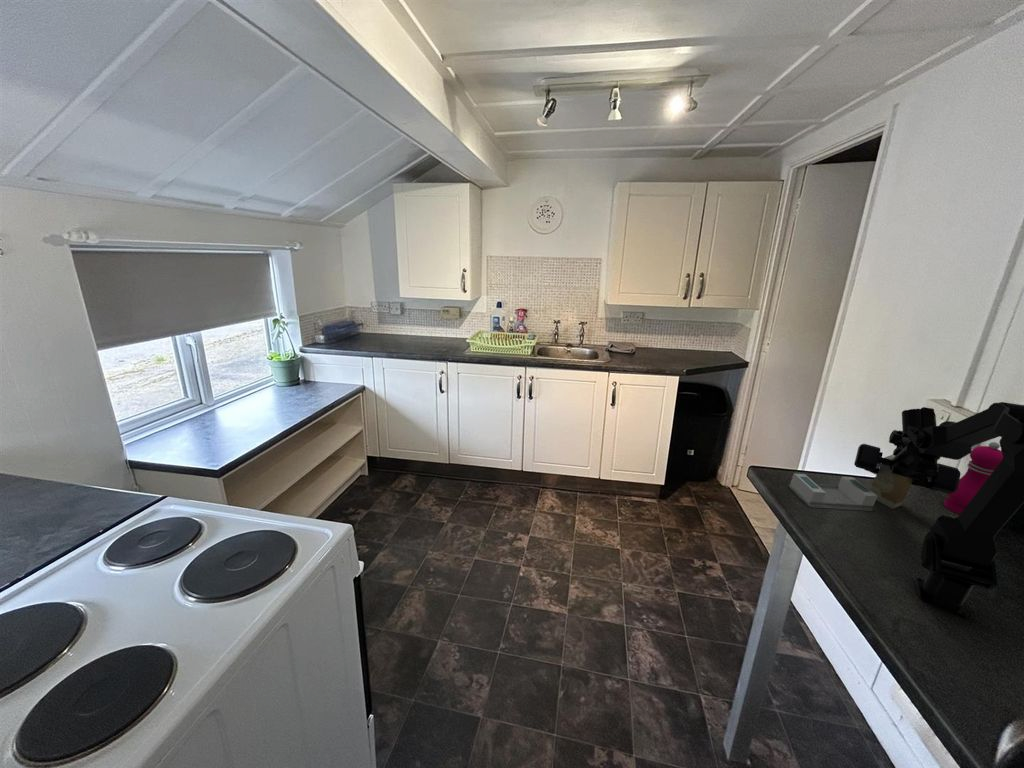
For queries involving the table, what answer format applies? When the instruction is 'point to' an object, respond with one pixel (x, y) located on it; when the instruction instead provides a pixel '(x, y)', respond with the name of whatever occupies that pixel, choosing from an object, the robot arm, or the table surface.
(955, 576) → the robot arm
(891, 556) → the table surface
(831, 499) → the rail board
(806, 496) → the mounted modules
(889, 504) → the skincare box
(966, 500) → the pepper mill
